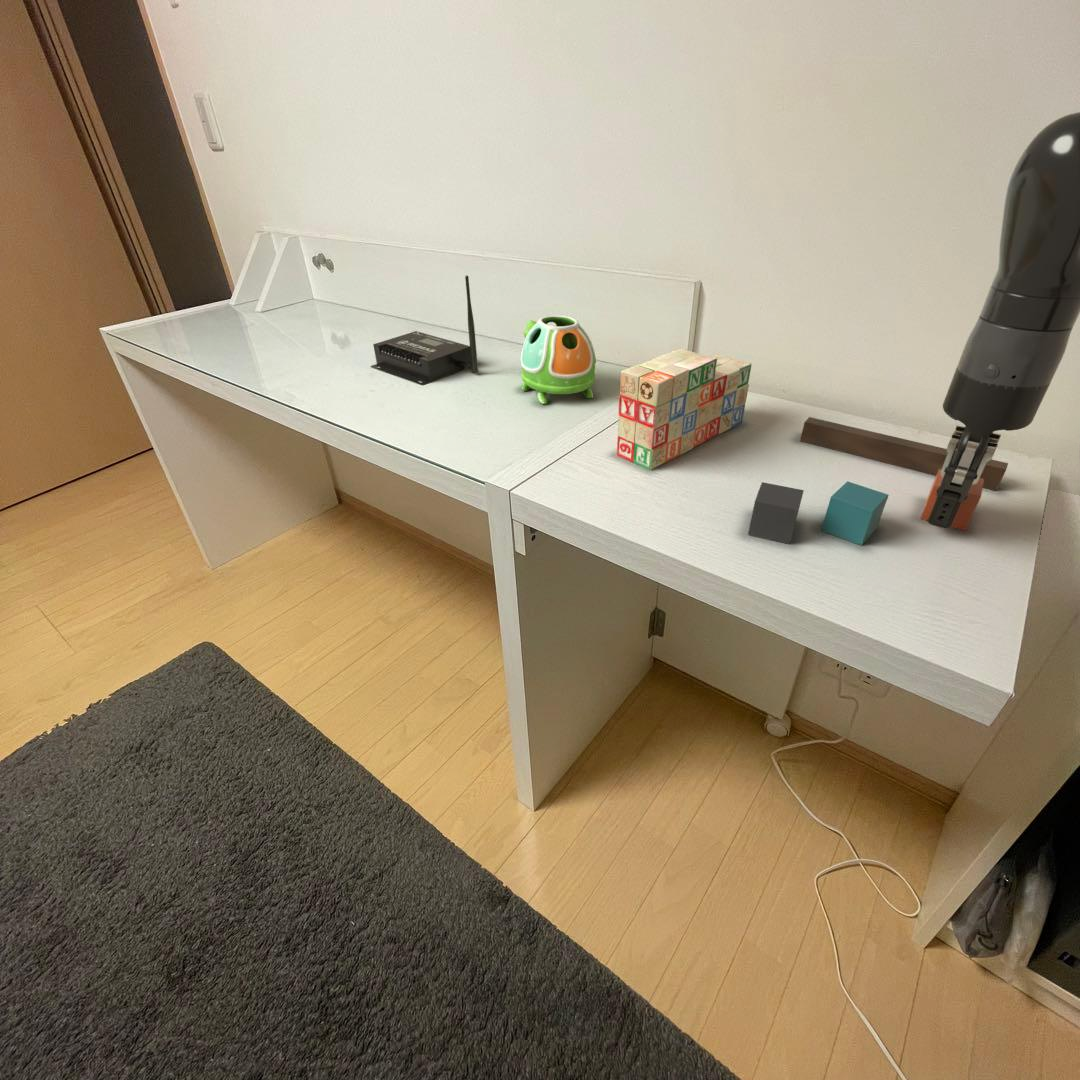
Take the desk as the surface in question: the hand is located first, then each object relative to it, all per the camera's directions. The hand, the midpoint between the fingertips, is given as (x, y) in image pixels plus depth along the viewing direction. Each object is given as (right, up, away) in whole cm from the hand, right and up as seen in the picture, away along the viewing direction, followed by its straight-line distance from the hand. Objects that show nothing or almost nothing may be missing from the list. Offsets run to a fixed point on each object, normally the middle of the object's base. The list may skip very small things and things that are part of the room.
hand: (939, 523), depth 67 cm
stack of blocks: (-23, +13, +22) cm, 34 cm away
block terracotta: (+3, +1, +4) cm, 5 cm away
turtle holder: (-42, +24, +39) cm, 62 cm away
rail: (+3, +9, +14) cm, 17 cm away
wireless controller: (-65, +31, +49) cm, 87 cm away
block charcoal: (-18, -1, +2) cm, 18 cm away
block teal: (-9, -1, +2) cm, 9 cm away
